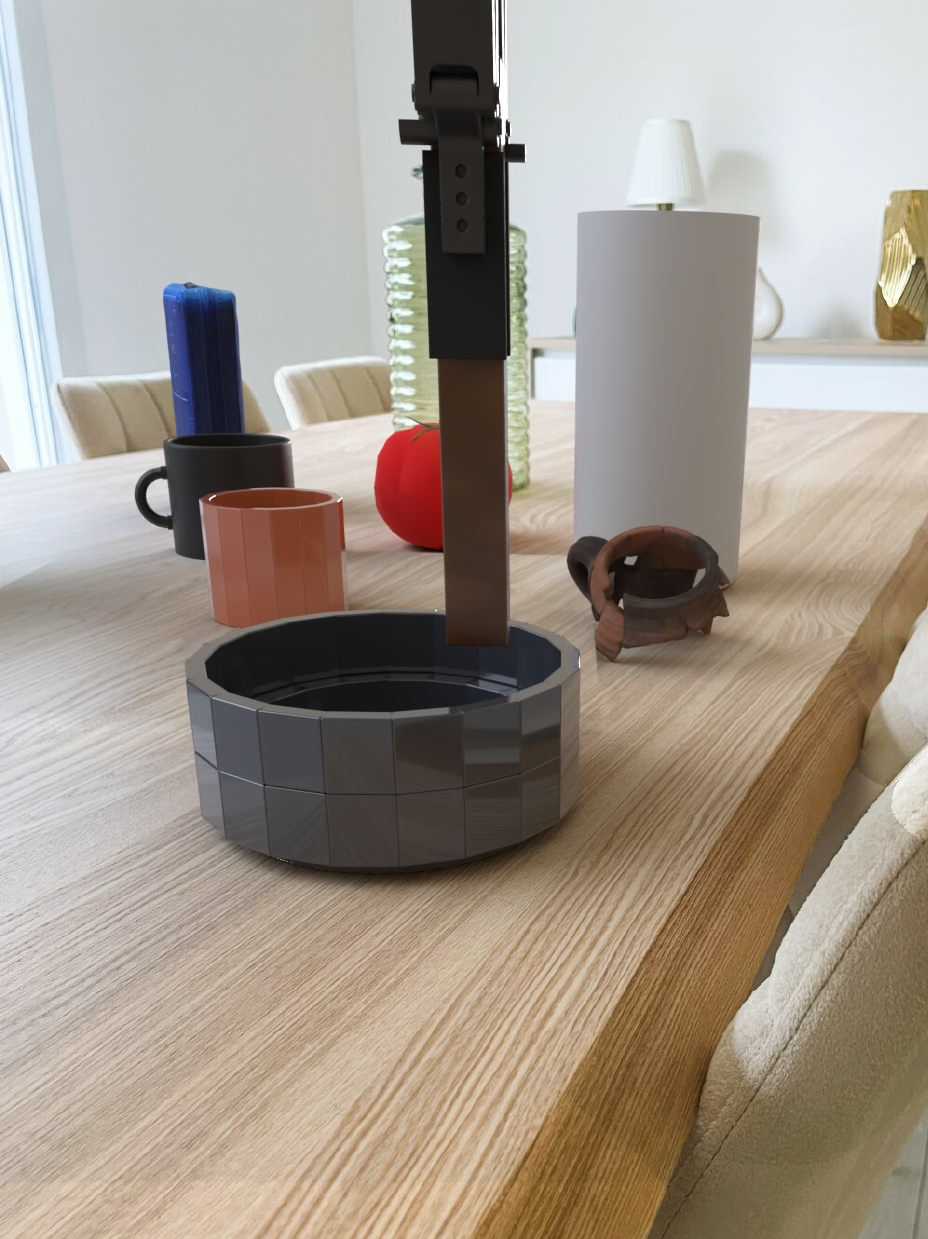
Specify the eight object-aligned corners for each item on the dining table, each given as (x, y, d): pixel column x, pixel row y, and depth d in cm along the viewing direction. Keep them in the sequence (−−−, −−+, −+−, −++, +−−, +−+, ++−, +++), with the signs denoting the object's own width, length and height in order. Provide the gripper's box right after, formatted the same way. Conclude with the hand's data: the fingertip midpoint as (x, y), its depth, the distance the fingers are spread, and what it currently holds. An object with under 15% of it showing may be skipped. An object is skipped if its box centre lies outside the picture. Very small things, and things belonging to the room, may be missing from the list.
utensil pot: (197, 641, 74) (182, 508, 70) (232, 607, 81) (220, 486, 78) (336, 643, 74) (327, 510, 71) (358, 610, 82) (351, 489, 78)
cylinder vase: (765, 577, 94) (791, 220, 84) (684, 607, 84) (704, 209, 74) (629, 556, 100) (639, 221, 90) (540, 582, 91) (540, 211, 81)
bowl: (150, 885, 44) (127, 715, 41) (253, 738, 58) (240, 605, 56) (579, 888, 44) (582, 721, 42) (576, 742, 59) (578, 611, 56)
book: (177, 501, 120) (153, 281, 112) (233, 499, 122) (212, 282, 114) (198, 526, 108) (172, 282, 100) (259, 523, 110) (238, 284, 102)
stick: (446, 646, 47) (426, 53, 40) (451, 630, 50) (434, 65, 42) (507, 647, 47) (500, 55, 40) (510, 631, 50) (503, 67, 42)
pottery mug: (756, 645, 78) (764, 546, 71) (671, 738, 73) (670, 642, 67) (608, 571, 82) (602, 473, 76) (519, 655, 78) (504, 558, 71)
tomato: (371, 533, 107) (364, 411, 102) (499, 530, 109) (498, 411, 105) (385, 561, 96) (378, 426, 92) (526, 557, 99) (526, 426, 95)
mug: (153, 547, 99) (138, 432, 95) (303, 545, 101) (295, 433, 97) (131, 572, 90) (115, 447, 87) (296, 569, 92) (286, 447, 89)
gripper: (584, -698, 28) (574, 371, 37) (579, -366, 42) (573, 350, 52) (260, -714, 28) (330, 367, 37) (363, -375, 42) (396, 346, 51)
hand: (471, 355), depth 44 cm, fingers closed on stick, 2 cm apart
